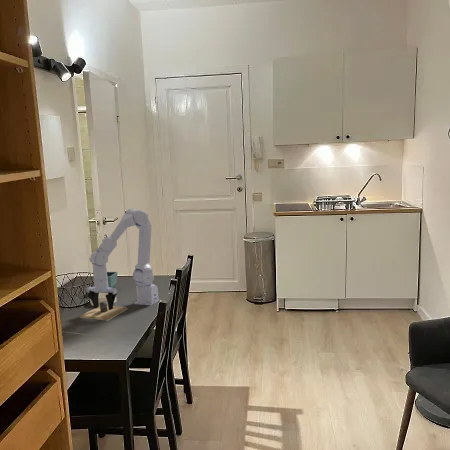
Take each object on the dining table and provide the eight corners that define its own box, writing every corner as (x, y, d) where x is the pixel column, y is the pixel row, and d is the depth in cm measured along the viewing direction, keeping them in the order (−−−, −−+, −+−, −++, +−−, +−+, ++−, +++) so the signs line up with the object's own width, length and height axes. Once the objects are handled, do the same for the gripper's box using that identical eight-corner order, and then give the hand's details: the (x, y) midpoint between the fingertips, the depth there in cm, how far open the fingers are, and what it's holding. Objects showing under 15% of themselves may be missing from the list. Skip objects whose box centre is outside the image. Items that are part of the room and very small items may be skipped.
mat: (128, 309, 215) (128, 308, 215) (108, 321, 201) (108, 320, 201) (100, 306, 220) (100, 306, 220) (79, 318, 207) (79, 317, 207)
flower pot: (112, 293, 241) (110, 276, 239) (96, 293, 242) (94, 276, 241) (119, 288, 249) (117, 271, 248) (103, 288, 251) (102, 271, 249)
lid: (126, 308, 214) (125, 298, 214) (107, 319, 202) (106, 309, 201) (101, 306, 220) (99, 296, 219) (81, 317, 207) (79, 306, 206)
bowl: (121, 299, 230) (120, 291, 229) (106, 307, 219) (105, 298, 218) (101, 297, 234) (100, 289, 234) (85, 305, 224) (84, 297, 223)
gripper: (81, 280, 207) (84, 310, 209) (109, 282, 202) (112, 312, 204) (91, 275, 214) (94, 304, 216) (118, 277, 208) (121, 307, 210)
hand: (103, 308), depth 210 cm, fingers open, 7 cm apart
